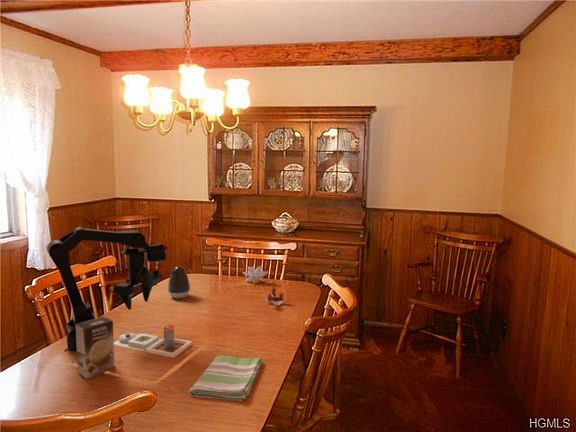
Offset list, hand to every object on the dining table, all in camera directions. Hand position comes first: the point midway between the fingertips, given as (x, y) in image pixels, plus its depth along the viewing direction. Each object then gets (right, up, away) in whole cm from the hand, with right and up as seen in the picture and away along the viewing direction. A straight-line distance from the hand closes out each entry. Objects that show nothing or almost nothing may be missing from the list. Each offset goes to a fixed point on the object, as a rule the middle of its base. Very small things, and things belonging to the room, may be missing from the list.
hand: (138, 305), depth 159 cm
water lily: (+39, -3, +70) cm, 80 cm away
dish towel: (+38, -17, -28) cm, 50 cm away
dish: (+15, -14, -10) cm, 22 cm away
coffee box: (-5, -16, -24) cm, 29 cm away
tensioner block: (+1, -13, -5) cm, 14 cm away
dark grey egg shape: (+4, -6, +46) cm, 46 cm away
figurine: (+50, -8, +38) cm, 63 cm away
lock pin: (+15, -13, -10) cm, 22 cm away
